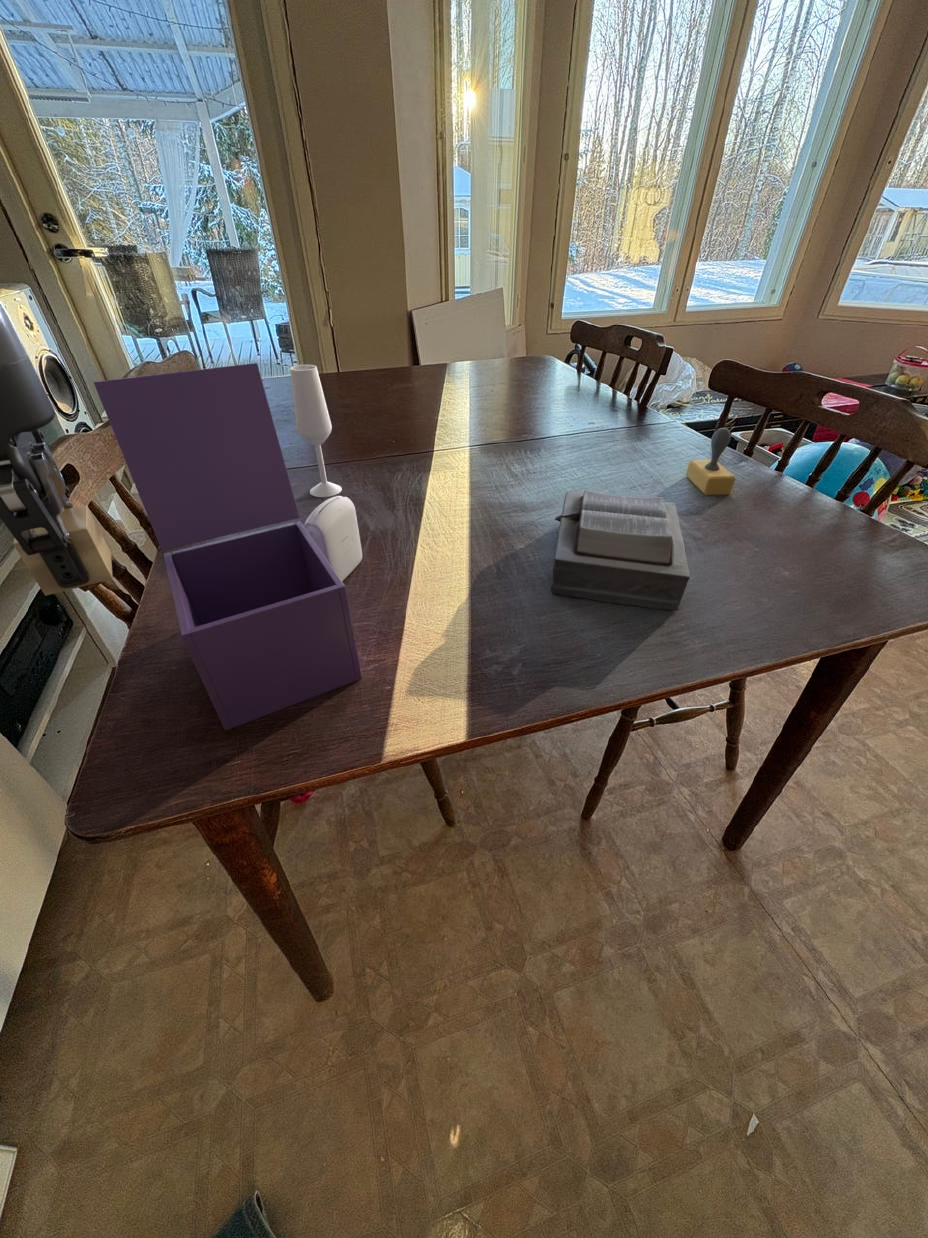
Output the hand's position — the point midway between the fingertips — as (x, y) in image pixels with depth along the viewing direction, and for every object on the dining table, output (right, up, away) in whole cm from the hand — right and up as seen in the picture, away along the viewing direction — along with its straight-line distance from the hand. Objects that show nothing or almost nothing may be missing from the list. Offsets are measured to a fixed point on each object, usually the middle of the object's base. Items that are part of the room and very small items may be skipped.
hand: (76, 567), depth 45 cm
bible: (+59, +5, +41) cm, 72 cm away
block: (0, 0, 0) cm, 1 cm away
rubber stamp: (+87, +24, +65) cm, 111 cm away
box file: (+10, -10, +22) cm, 26 cm away
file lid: (+4, +14, +15) cm, 21 cm away
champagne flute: (+5, +23, +64) cm, 68 cm away
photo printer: (+14, +3, +39) cm, 41 cm away
